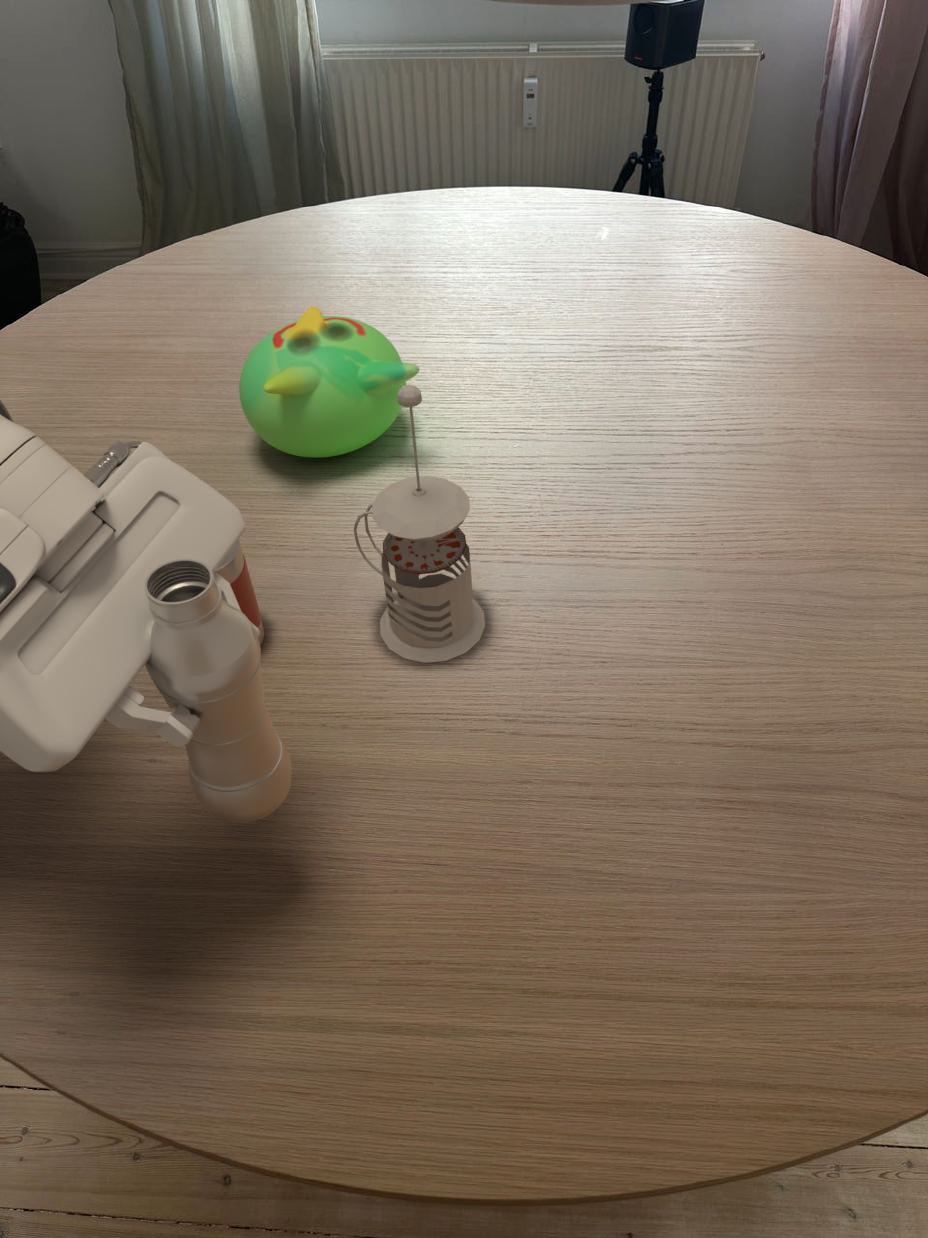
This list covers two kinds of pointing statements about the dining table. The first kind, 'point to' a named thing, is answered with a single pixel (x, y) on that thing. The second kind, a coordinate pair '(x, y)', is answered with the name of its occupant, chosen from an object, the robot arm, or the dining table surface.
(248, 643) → the plastic bottle
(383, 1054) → the dining table surface
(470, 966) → the dining table surface
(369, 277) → the dining table surface
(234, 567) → the food can
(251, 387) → the toy bird
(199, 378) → the dining table surface
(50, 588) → the robot arm
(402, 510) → the french press
